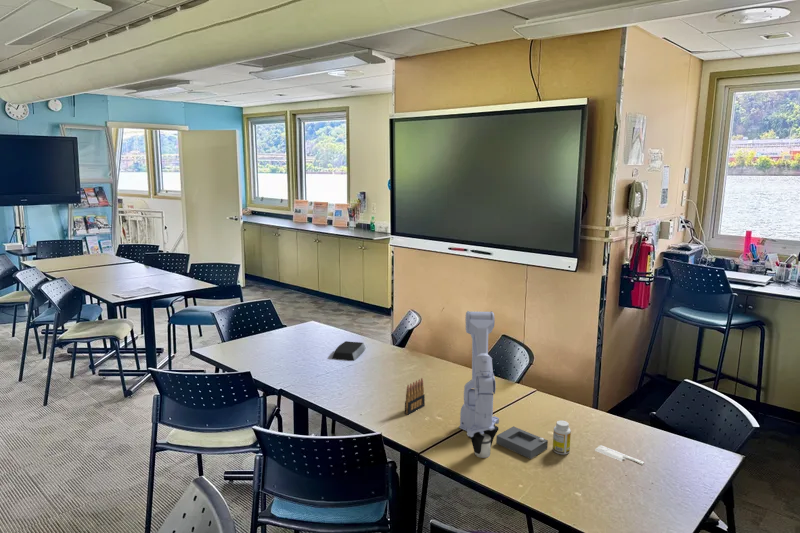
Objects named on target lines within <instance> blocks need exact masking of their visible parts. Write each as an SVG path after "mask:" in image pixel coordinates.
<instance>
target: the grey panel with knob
mask: <svg viewBox="0 0 800 533" xmlns="http://www.w3.org/2000/svg"><path fill="white" fill-rule="evenodd" d="M495 438H496V442H495V443H496V445H499V446H501V447H503V448H505V449H507V450H509V451H511V452H514V453H516V454H519V455H521V456H522V457H525V458H527V459H530V460H532V459H533V458H535V457H536V456H538V455H540V454H542V453H543V452H544V451H546V450H547V449H548V446H549V444H548V443H549V440H547V439H545V438H544V437H541V436H538V435H536V434H533V433H531V432H528V431H526V430H524V429H521V428H518V427H516V426H512V427H509V428H508V429H506V430H504V431H501V433H498V434H497V435H496V437H495Z"/></svg>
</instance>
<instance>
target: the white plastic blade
mask: <svg viewBox="0 0 800 533" xmlns="http://www.w3.org/2000/svg"><path fill="white" fill-rule="evenodd" d="M594 452H597V453H600V454H601V455H604V456H607V457H609V458H612V459H615V460H616V459H617V461H620V462H622V463H623V461H626V460H629V461H632V462H634V461H635V462H634V463H636V462H637V464H638V463H639V465H641V466H643V465H645V461H643V460H641V459H638V458H635V457H632V456H629V455H627V454H624V453H622V452H619V450H618V451H617V450H616V449H615V450H614V449H612V448H609V447H607V446H604V445H603V444H600V445H598V446H597V447H595V449H594Z"/></svg>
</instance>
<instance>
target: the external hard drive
mask: <svg viewBox="0 0 800 533" xmlns="http://www.w3.org/2000/svg"><path fill="white" fill-rule="evenodd" d="M365 350H366V345H365V343H364V342H360V341H359V342H358V341H347V340H346V341H344V342H342V343H340V345H338V346H337V348H335V350H334V353H333V355H332V357H331V359H332V360H341V361H342V360H343V361H344V360H345V361H356V360H357V359H358V358H359V357H360V356H362V354H363V353H364V352H365Z"/></svg>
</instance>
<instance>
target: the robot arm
mask: <svg viewBox="0 0 800 533" xmlns="http://www.w3.org/2000/svg"><path fill="white" fill-rule="evenodd" d="M464 318H465V320H464V322H465V333H466V334H469V335H470V336H471V337H470V338H471V379H470V380H468V381H467V382H466V383H465V384H464V387H463V388H464V389H463V404H462V406H461V408H460V413H459V415H460V417H459V419H460V420H459V423H460V424H459V426H458V428H459V429H461V430H464V431H465V432H466V436H467V437H469V439H470V442H471V444H472V448H473V452H474V453H475V452H476V453H478V454H480V452H481V445H482V441H483V439H484V436H482V435H481V433H482V434H487V435H489V436H490V437H491V446H493V442H494V439H495V436H496V434H497V433H498V431H499V426H497V425H498V424H499V422H500V417H497V416H495V415H494V414H493V413H494V395H495V394H496V389H497V386H496V385H497V384H496V377H495V373H494V370H493V360H492V359H493V358H492V357H491V355H489V334H491V333H492V332H493V330H494V327H495V321H496V320H495V313H494V312H493V311H471V310H467V311H466V312H465V317H464Z"/></svg>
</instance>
